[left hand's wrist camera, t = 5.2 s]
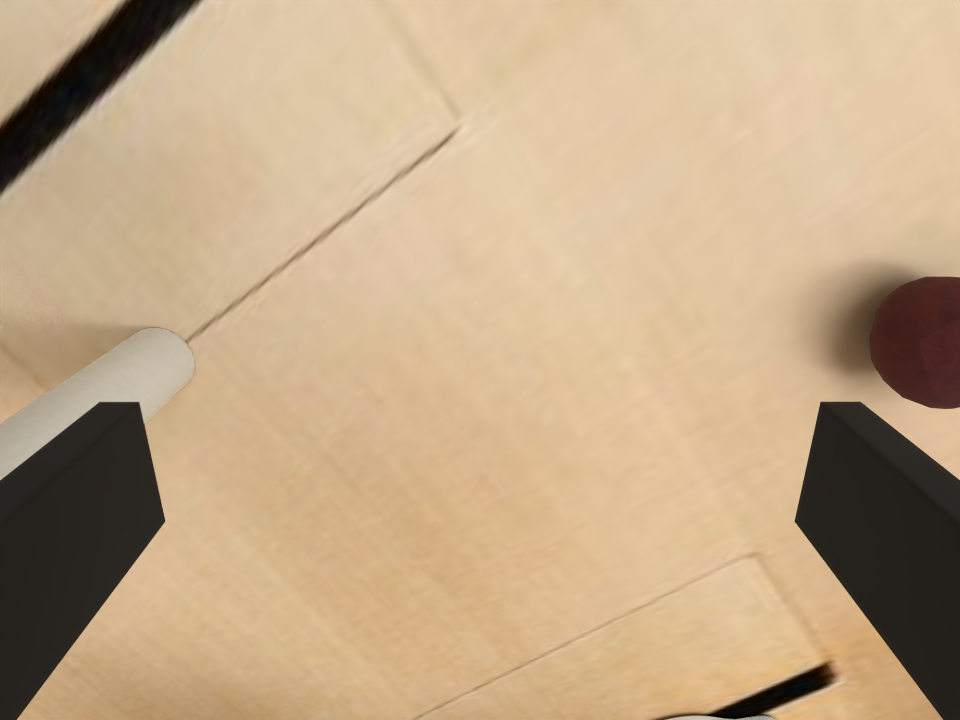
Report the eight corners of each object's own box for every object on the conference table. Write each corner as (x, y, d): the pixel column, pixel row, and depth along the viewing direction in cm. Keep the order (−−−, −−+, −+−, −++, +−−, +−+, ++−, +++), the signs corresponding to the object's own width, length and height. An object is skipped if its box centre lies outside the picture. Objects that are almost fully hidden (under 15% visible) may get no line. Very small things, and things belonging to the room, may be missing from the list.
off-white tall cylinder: (203, 344, 42) (8, 514, 24) (184, 400, 43) (-11, 598, 26) (134, 316, 41) (-116, 471, 24) (118, 375, 42) (-127, 560, 25)
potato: (871, 396, 43) (942, 450, 36) (826, 303, 40) (893, 342, 34) (981, 339, 41) (1075, 383, 35) (941, 238, 39) (1034, 266, 32)
